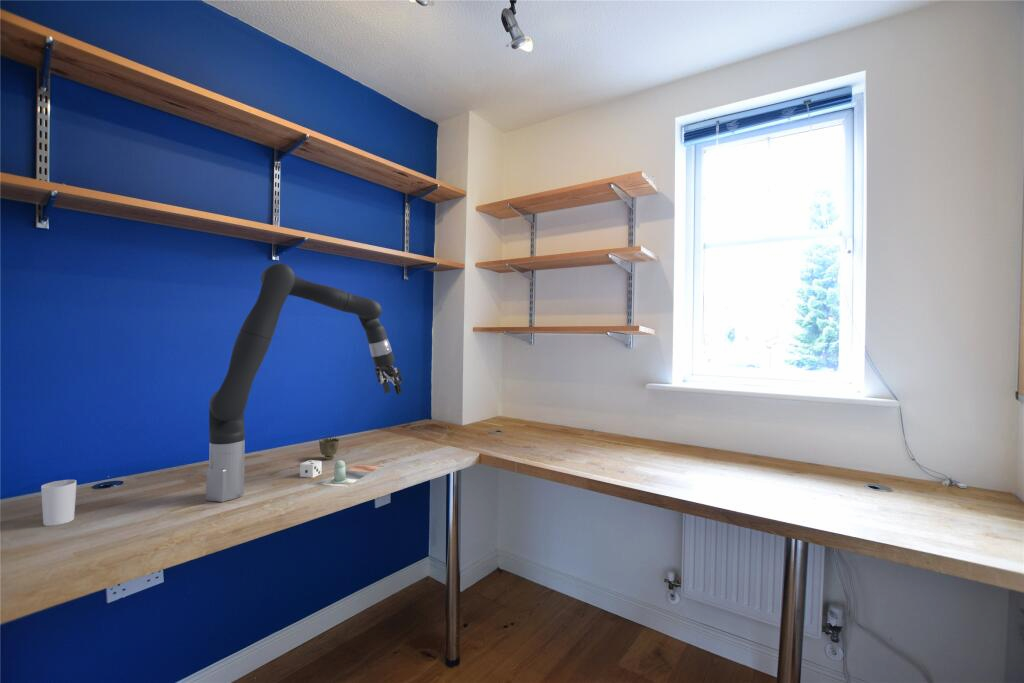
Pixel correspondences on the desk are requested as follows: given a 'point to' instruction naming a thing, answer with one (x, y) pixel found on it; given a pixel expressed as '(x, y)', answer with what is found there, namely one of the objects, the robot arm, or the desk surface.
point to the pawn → (339, 473)
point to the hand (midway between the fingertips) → (393, 393)
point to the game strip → (354, 474)
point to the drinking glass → (58, 502)
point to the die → (310, 468)
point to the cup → (328, 447)
